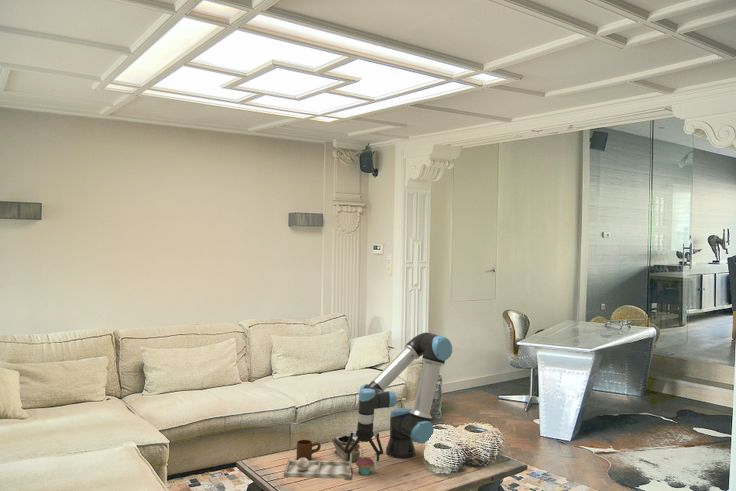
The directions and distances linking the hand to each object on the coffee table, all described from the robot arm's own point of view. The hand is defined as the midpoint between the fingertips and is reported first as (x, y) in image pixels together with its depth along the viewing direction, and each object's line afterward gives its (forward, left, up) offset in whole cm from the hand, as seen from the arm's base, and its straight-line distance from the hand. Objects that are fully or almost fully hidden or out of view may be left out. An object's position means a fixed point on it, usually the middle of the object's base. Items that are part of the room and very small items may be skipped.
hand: (362, 467), depth 291 cm
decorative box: (+10, -21, -3) cm, 23 cm away
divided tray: (+21, +1, -3) cm, 21 cm away
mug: (+27, -14, -3) cm, 31 cm away
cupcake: (-1, 0, -3) cm, 3 cm away
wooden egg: (+28, +1, -2) cm, 29 cm away
